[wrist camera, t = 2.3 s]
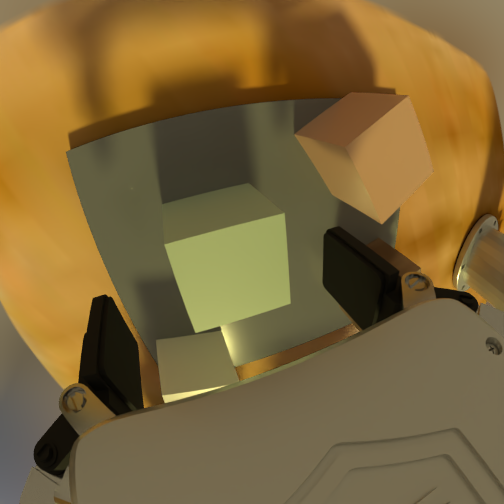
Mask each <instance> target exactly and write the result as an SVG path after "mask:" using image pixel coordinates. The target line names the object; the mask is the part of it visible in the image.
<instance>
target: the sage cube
mask: <svg viewBox="0 0 504 504" xmlns="http://www.w3.org/2000/svg"><path fill="white" fill-rule="evenodd" d="M162 212H163V231H164V245H165V248H166V251H167V254H168V258H169V261H170V264H171V267H172V270H173V273H174V276H175V279H176V282H177V284H178V287H179V290H180V293H181V296H182V299H183V301H184V304H185V307H186V309H187V312H188V315H189V318H190V320H191V323H192V325H193V328H194V331H195V333H197V332H201V331H204V330H208V329H211V328H215V327H218V326H222V325H225V324H228V323H232V322H235V321H238V320H242V319H245V318H248V317H251V316H254V315H257V314H261V313H264V312H267V311H270V310H273V309H276V308H279V307H282V306H285V305H288V304H291V301H290V283H289V266H288V251H287V237H286V224H285V213H284V212H283V211H282V210H280V209H279V208H278V207H277V206H276V205H275V204H273V203H272V202H271V201H270V200H269V199H267V198H266V197H265V196H264V195H263V194H261V193H260V192H259V191H258V190H257V189H255V188H254V187H253V186H252V185H251V184H249V183H246V184H241V185H237V186H233V187H228V188H224V189H220V190H215V191H211V192H207V193H203V194H199V195H195V196H191V197H187V198H184V199H180V200H176V201H172V202H169V203H165V204H162Z"/></svg>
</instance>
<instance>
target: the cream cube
mask: <svg viewBox="0 0 504 504" xmlns="http://www.w3.org/2000/svg"><path fill="white" fill-rule="evenodd" d="M156 346H157V357H158V367H159V376H160V385H161V392H162V397H163V399H164V402H165V403H167V402H171V401H175V400H179V399H182V398H186V397H190V396H193V395H197V394H201V393H204V392H207V391H211V390H214V389H217V388H221V387H224V386H227V385H230V384H233V383H236V382H239V378H238V376H237V373H236V370H235V367H234V365H233V362H232V359H231V356H230V353H229V351H228V348H227V345H226V342H225V339H224V336H223V333H222V330H221V331H215V332H209V333H203V334H196V335H189V336H182V337H175V338H167V339H159V340H156Z"/></svg>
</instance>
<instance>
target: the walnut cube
mask: <svg viewBox="0 0 504 504" xmlns="http://www.w3.org/2000/svg"><path fill="white" fill-rule="evenodd" d="M366 246H368V247H369V248H370V249H372V250H373V251H374V252H376V253H377V254H378V255H380V256H381V257H382V258H384V259H385V260H386V261H388V262H389V263H390V264H391V265H393V266H394V267H395V268H397V269H398V270H399V276H401V277H402V276H403V275H404V274H406V273H408V272H420V273H421V268H420V267H419V266H417V265H416V264H415V263H413V262H412V261H411V260H409V259H408V258H407V257H405V256H404V255H403V254H401V253H400V252H398V251H397V250H396V249H394V248H393V247H391V246H390V245H389V244H387V243H386V242H384V241H383V240H382V239H380V238H377V239H375V240H374V241H372V242H371V243H369V244H367V245H366ZM339 308H340V309H341V310H342V311H343V312H344V314H345V315H346V316H347V317H348V318H349V319H350V321H351V322H352V323H353V324H354V325H355V326H356V328H357V329H358V330H359V331H362V329H361V328H360V327H359V326H358V325H357V324H356V322H355V321H354V320H353V319H352V318H351V317H350V316H349V315H348V314H347V312H346V311H345V310H344V309H343V308H342V307H341V306H340V305H339Z"/></svg>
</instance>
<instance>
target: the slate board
mask: <svg viewBox="0 0 504 504" xmlns="http://www.w3.org/2000/svg"><path fill="white" fill-rule="evenodd" d="M341 99H342V98H320V99H297V100H282V101H271V102H261V103H252V104H244V105H237V106H230V107H224V108H218V109H212V110H206V111H201V112H196V113H191V114H186V115H182V116H177V117H173V118H169V119H165V120H161V121H157V122H153V123H149V124H145V125H142V126H138V127H135V128H131V129H128V130H125V131H122V132H118V133H115V134H112V135H109V136H106V137H103V138H100V139H98V140H95V141H92V142H89V143H87V144H84V145H81V146H79V147H76V148H74V149H71V150H69V151H67V152H66V154H67V158H68V162H69V165H70V169H71V173H72V176H73V179H74V183H75V186H76V189H77V193H78V196H79V199H80V202H81V205H82V208H83V211H84V213H85V216H86V219H87V222H88V225H89V227H90V230H91V233H92V235H93V238H94V240H95V243H96V245H97V248H98V250H99V253H100V255H101V257H102V260H103V262H104V264H105V267H106V269H107V271H108V273H109V276H110V278H111V280H112V282H113V284H114V286H115V288H116V291H117V293H118V295H119V297H120V299H121V301H122V303H123V305H124V307H125V309H126V311H127V313H128V314H129V316H130V318H131V320H132V322H133V324H134V326H135V328H136V329H137V331H138V333H139V335H140V337H141V338H142V340H143V342H144V344H145V345H146V347H147V349H148V350H149V352H150V354H151V355H152V357H153V359H154V360H155V362H156V364H157V365H158V357H157V346H156V340H159V339H167V338H175V337H182V336H189V335H196V334H203V333H209V332H215V331H221V330H222V333H223V336H224V339H225V342H226V345H227V348H228V351H229V353H230V356H231V359H232V362H233V365H234V367H237V366H240V365H243V364H246V363H250V362H253V361H256V360H259V359H262V358H265V357H268V356H270V355H273V354H276V353H279V352H282V351H284V350H287V349H290V348H293V347H295V346H298V345H301V344H303V343H306V342H308V341H311V340H313V339H316V338H318V337H321V336H323V335H326V334H328V333H330V332H333V331H335V330H338V329H340V328H342V327H344V326H347V325H349V324H351V323H352V322H351V321H350V319H349V318H348V317H347V316H346V315H345V314H344V312H343V311H342V310H341V309H340V308H339V304H338V302H337V301H336V300H335V299H334V298H333V297H332V296H331V295H330V294H329V293H328V291H327V290H326V289H325V288H324V286H323V283H322V278H323V236H324V234H325V233H326V231H327V229H330V228H333V227H337V226H340V227H341V228H343V229H344V230H346V231H347V232H348V233H350V234H351V235H353V236H354V237H355V238H357V239H358V240H360V241H361V242H362V243H364V244H365V245H367V244H369V243H371V242H372V241H374V240H375V239H377V238H380V239H382V240H383V241H384V242H386V243H387V244H389V245H390V246H391V247H393V248H394V249H395V242H396V235H397V228H398V220H399V211H400V207H399V208H398V209H397V210H396V211H395V212H394V213H393V214H392V215H391V216H390V217H389V218H388V219H387V220H386V221H385V222H384V223H383V224H380V223H379V222H377V221H375V220H374V219H372V218H371V217H369V216H367V215H366V214H364V213H362V212H361V211H359V210H357V209H356V208H354V207H352V206H351V205H349V204H347V203H345V202H344V201H342V200H340V199H339V198H337V197H335V196H333V195H332V194H331V192H330V190H329V189H328V187H327V185H326V184H325V182H324V180H323V179H322V177H321V175H320V174H319V172H318V171H317V169H316V167H315V166H314V164H313V163H312V161H311V159H310V158H309V156H308V155H307V153H306V152H305V150H304V149H303V147H302V146H301V144H300V143H299V141H298V140H297V138H296V137H295V135H294V134H295V133H296V132H298V131H299V130H300V129H302V128H303V127H304V126H305V125H307V124H308V123H309V122H311V121H312V120H313V119H315V118H316V117H317V116H319V115H320V114H321V113H323V112H324V111H325V110H327V109H328V108H329V107H331V106H332V105H334V104H335V103H336V102H338V101H339V100H341ZM246 183H249V184H251V185H252V186H253V187H254V188H255V189H257V190H258V191H259V192H260V193H261V194H263V195H264V196H265V197H266V198H267V199H269V200H270V201H271V202H272V203H273V204H275V205H276V206H277V207H278V208H279V209H280V210H282V211H283V212H284V213H285V224H286V237H287V251H288V266H289V283H290V301H291V304H288V305H285V306H282V307H279V308H276V309H273V310H270V311H267V312H264V313H261V314H257V315H254V316H251V317H248V318H245V319H242V320H238V321H235V322H232V323H228V324H225V325H222V326H218V327H215V328H211V329H208V330H204V331H201V332H197V333H195V331H194V328H193V325H192V323H191V320H190V318H189V315H188V312H187V309H186V307H185V304H184V301H183V299H182V296H181V293H180V290H179V287H178V284H177V282H176V279H175V276H174V273H173V270H172V267H171V264H170V261H169V258H168V254H167V251H166V248H165V245H164V231H163V212H162V204H165V203H169V202H172V201H176V200H180V199H184V198H187V197H191V196H195V195H199V194H203V193H207V192H211V191H215V190H220V189H224V188H228V187H233V186H237V185H241V184H246Z"/></svg>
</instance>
